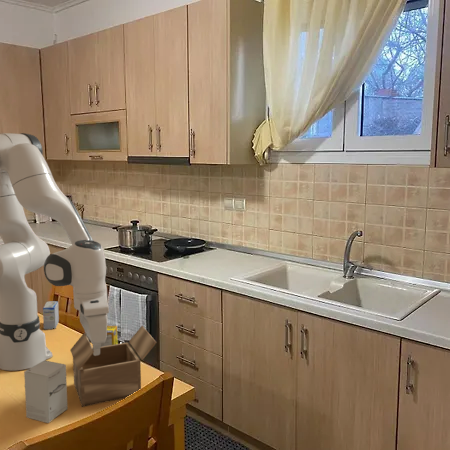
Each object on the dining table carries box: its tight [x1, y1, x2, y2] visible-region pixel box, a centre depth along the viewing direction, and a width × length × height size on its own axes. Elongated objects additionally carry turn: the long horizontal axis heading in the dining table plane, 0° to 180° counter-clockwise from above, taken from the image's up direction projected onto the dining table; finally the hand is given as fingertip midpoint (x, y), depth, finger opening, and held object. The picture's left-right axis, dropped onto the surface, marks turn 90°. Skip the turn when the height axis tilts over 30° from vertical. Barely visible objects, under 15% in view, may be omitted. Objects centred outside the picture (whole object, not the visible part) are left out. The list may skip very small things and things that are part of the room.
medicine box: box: [42, 300, 60, 330], centre depth 185 cm, size 8×4×9 cm, turn 10°
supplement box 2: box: [101, 325, 119, 347], centre depth 155 cm, size 6×6×11 cm
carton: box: [72, 341, 142, 408], centre depth 136 cm, size 14×16×10 cm
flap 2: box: [128, 325, 158, 361], centre depth 140 cm, size 14×6×1 cm
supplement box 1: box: [23, 360, 68, 424], centre depth 123 cm, size 7×7×13 cm
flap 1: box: [70, 332, 94, 370], centre depth 132 cm, size 14×6×1 cm
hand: (93, 348), depth 134 cm, fingers open, 8 cm apart
